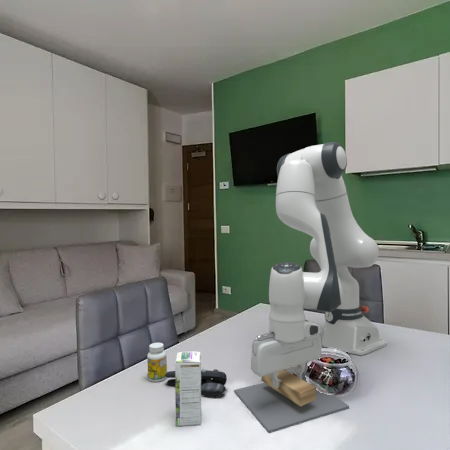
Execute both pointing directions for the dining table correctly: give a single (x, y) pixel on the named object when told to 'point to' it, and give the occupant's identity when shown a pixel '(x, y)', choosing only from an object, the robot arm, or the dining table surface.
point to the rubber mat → (285, 406)
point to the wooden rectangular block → (293, 387)
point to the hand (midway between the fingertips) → (287, 383)
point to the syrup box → (188, 388)
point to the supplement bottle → (157, 362)
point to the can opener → (206, 382)
